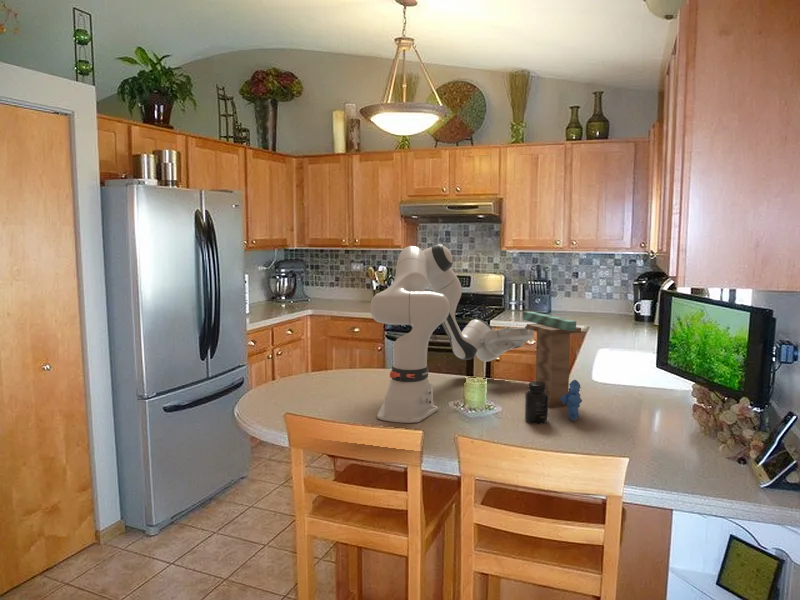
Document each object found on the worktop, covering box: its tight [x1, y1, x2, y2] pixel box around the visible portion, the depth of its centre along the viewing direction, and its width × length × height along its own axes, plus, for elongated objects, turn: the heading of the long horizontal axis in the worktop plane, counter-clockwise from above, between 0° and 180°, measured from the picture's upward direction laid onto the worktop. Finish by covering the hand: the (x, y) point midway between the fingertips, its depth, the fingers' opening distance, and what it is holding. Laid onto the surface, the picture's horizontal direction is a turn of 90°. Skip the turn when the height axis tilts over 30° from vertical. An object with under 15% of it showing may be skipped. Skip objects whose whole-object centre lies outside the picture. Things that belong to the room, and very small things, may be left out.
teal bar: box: [522, 310, 577, 331], centre depth 204 cm, size 26×3×3 cm, turn 22°
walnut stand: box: [524, 323, 582, 409], centre depth 203 cm, size 14×12×26 cm
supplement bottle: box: [524, 380, 549, 425], centre depth 182 cm, size 7×7×12 cm
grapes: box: [560, 379, 583, 421], centre depth 185 cm, size 12×7×12 cm, turn 160°
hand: (518, 328), depth 221 cm, fingers open, 8 cm apart
